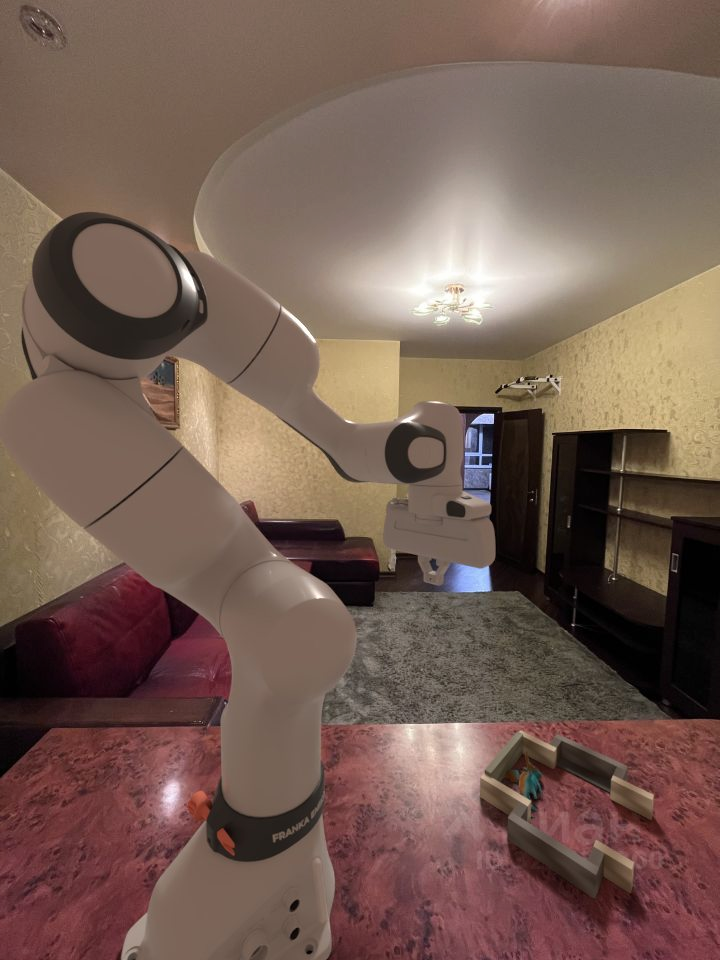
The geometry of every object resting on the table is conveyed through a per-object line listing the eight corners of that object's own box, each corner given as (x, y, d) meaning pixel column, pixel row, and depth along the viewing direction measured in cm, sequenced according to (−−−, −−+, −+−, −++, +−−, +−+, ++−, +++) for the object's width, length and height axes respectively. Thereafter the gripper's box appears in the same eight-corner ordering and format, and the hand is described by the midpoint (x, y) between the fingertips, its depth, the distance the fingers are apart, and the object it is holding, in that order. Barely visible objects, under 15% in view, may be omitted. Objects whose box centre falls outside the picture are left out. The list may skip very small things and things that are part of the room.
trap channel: (657, 799, 60) (658, 777, 60) (623, 919, 44) (625, 889, 44) (528, 736, 73) (528, 717, 73) (467, 811, 58) (468, 788, 57)
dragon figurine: (577, 816, 56) (549, 755, 64) (536, 808, 55) (512, 746, 62) (548, 838, 59) (524, 777, 66) (508, 832, 57) (488, 770, 64)
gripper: (375, 498, 72) (375, 574, 73) (481, 509, 58) (479, 603, 59) (397, 495, 77) (397, 567, 78) (501, 505, 63) (498, 593, 64)
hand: (433, 583), depth 68 cm, fingers closed
